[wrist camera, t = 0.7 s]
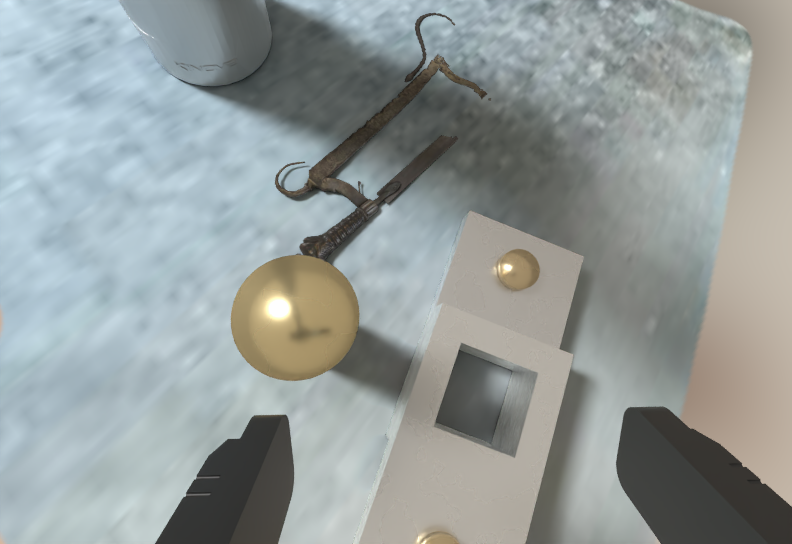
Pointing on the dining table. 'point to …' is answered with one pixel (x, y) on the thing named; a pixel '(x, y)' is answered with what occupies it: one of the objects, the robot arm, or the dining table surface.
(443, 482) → the gray block
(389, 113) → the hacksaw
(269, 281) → the pin
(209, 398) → the dining table surface
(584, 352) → the dining table surface
